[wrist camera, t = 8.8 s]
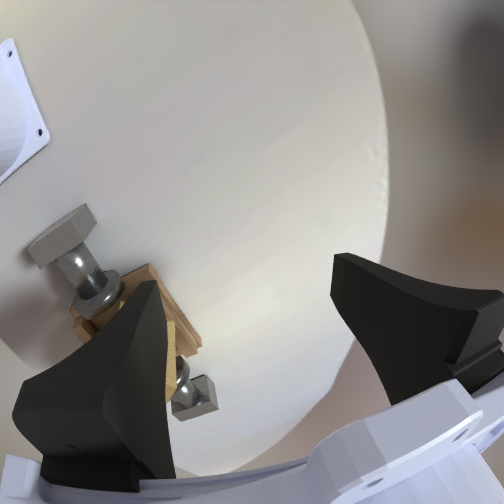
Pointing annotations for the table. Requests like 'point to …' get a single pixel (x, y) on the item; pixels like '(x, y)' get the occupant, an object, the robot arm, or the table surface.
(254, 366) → the table surface
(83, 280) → the shaft stand
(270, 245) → the table surface
